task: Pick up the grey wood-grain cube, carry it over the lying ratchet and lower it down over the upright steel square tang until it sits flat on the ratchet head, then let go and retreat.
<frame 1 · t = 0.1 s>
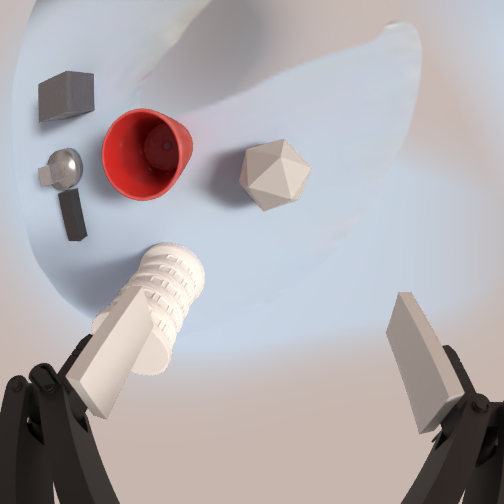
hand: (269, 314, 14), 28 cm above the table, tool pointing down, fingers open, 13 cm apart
ratchet: (68, 167, 40), on the table
decorative container: (172, 272, 47), on the table
flower pot: (169, 146, 38), on the table
die: (274, 169, 38), on the table
grey wood-grain cube: (79, 96, 34), on the table
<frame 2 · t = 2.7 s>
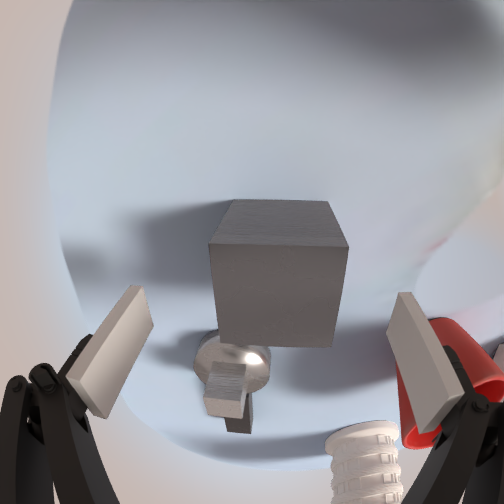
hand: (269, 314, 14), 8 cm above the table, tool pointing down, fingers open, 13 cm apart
ratchet: (234, 354, 26), on the table
decorative container: (361, 436, 34), on the table
flower pot: (428, 343, 24), on the table
die: (500, 352, 24), on the table
grey wood-grain cube: (280, 243, 20), on the table
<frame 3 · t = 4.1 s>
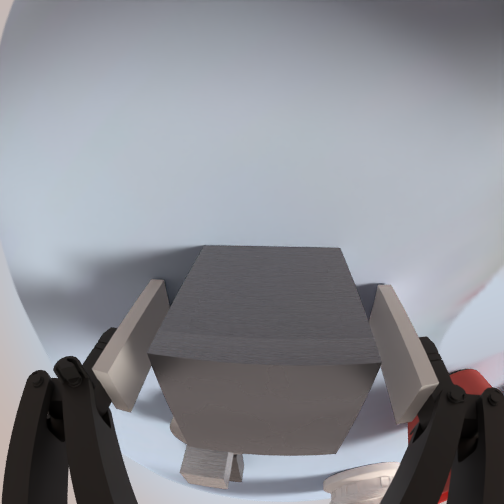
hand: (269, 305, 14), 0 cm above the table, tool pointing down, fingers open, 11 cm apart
ratchet: (218, 414, 20), on the table
decorative container: (363, 475, 28), on the table
flower pot: (444, 394, 18), on the table
grey wood-grain cube: (271, 302, 14), on the table
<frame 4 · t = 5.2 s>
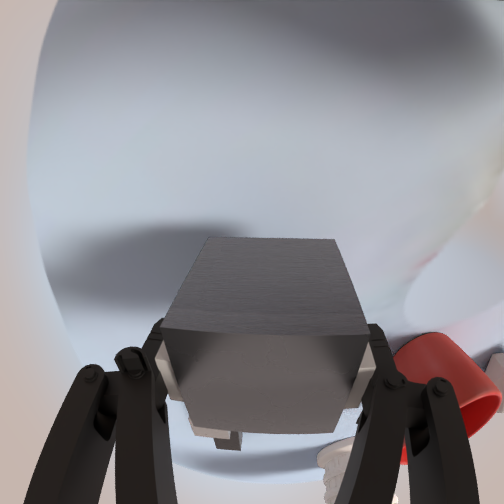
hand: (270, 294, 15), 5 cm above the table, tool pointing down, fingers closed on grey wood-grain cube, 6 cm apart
ratchet: (220, 374, 25), on the table
decorative container: (354, 449, 32), on the table
flower pot: (418, 358, 23), on the table
die: (493, 361, 24), on the table
grey wood-grain cube: (270, 291, 16), point 4 cm above the table, touching gripper
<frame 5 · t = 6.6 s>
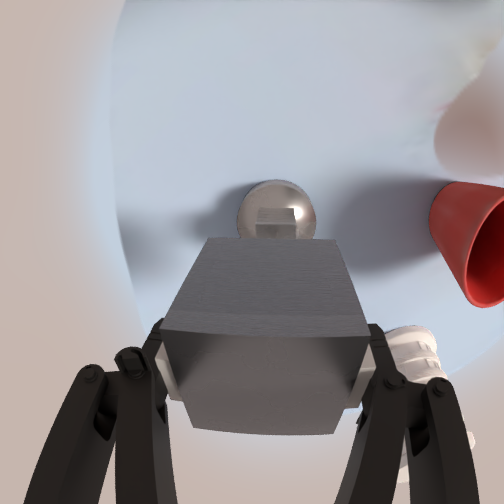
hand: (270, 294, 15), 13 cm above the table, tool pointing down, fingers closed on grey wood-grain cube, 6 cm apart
ratchet: (276, 215, 27), on the table
decorative container: (398, 354, 34), on the table
flower pot: (454, 214, 25), on the table
grey wood-grain cube: (270, 292, 16), point 13 cm above the table, touching gripper
when the fingers open (3 cm above the table, at t = 8.3 s): grey wood-grain cube stays where it is, resting on ratchet.
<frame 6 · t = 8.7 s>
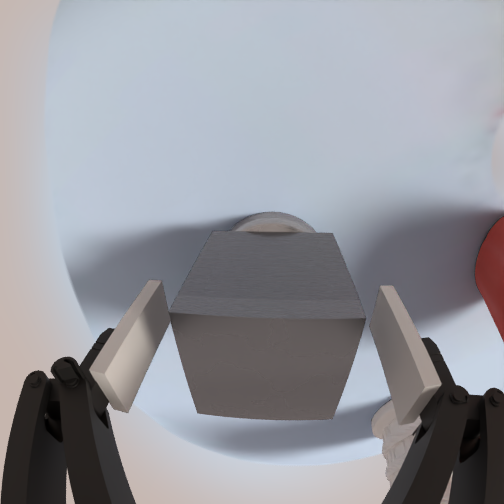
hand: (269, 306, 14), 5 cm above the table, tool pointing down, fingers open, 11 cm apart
ratchet: (272, 263, 18), on the table, touching grey wood-grain cube
decorative container: (414, 408, 26), on the table
flower pot: (503, 253, 16), on the table
grey wood-grain cube: (271, 283, 16), point 2 cm above the table, touching ratchet
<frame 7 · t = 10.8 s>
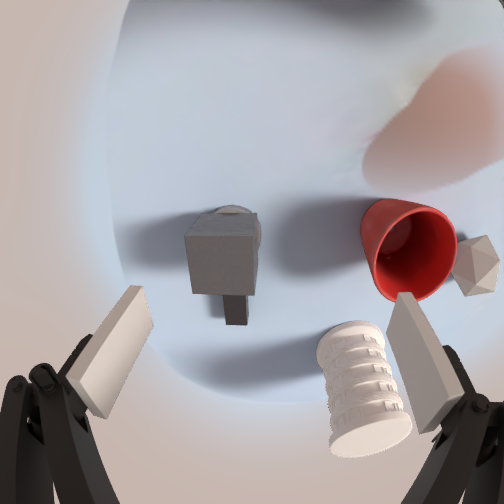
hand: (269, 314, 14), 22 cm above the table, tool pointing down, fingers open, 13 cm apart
ratchet: (233, 231, 36), on the table, touching grey wood-grain cube
decorative container: (350, 346, 43), on the table
flower pot: (386, 225, 34), on the table
die: (463, 254, 34), on the table
grey wood-grain cube: (230, 239, 33), point 2 cm above the table, touching ratchet
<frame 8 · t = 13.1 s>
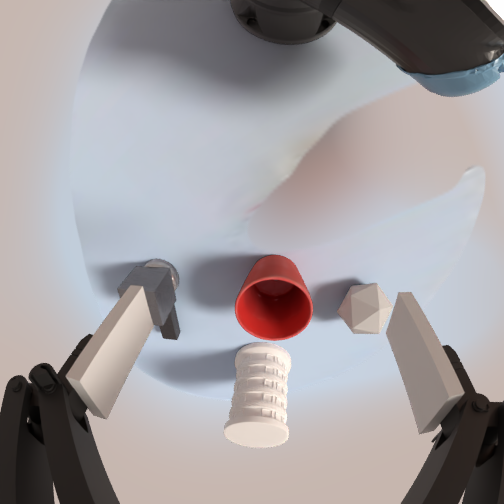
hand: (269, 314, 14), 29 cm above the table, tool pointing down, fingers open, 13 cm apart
ratchet: (160, 276, 48), on the table, touching grey wood-grain cube
decorative container: (263, 360, 56), on the table
flower pot: (275, 274, 46), on the table
die: (359, 295, 47), on the table
grey wood-grain cube: (156, 283, 46), point 2 cm above the table, touching ratchet
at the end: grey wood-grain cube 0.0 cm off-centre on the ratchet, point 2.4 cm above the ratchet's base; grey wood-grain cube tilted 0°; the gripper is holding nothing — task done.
